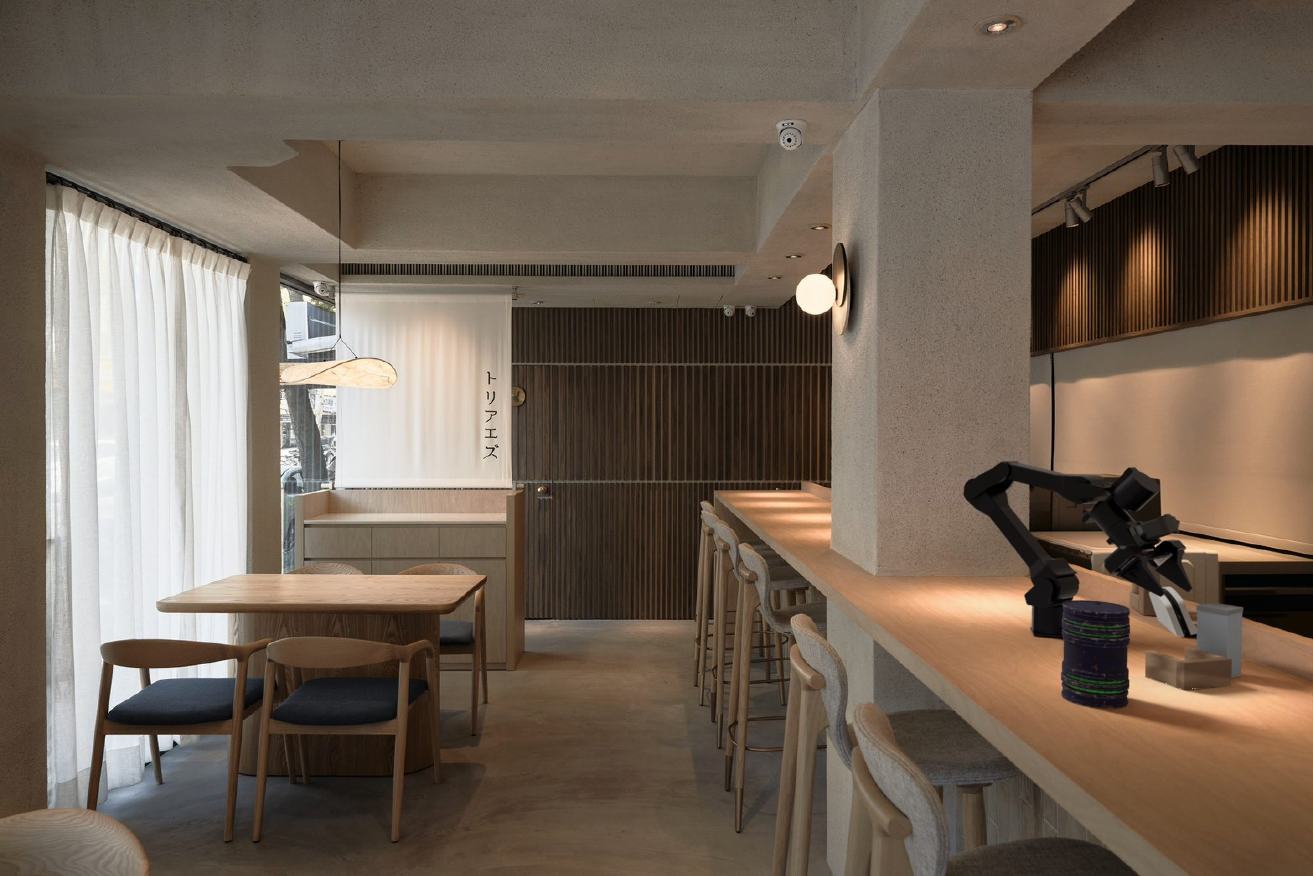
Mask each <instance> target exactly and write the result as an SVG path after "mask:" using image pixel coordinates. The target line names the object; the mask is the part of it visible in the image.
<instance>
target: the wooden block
mask: <svg viewBox="0 0 1313 876" xmlns="http://www.w3.org/2000/svg"><path fill="white" fill-rule="evenodd" d="M1147 566H1148V568H1149V570H1150V571H1151V573H1152V574H1153V575H1154V577H1155V578H1156V580H1157V581H1158V582H1159V584H1160V585H1161V574H1159V573H1158V572H1156V571H1155V569H1156V568H1155V567H1153V566H1151V565H1150V564H1149V563H1148V561H1147ZM1149 592H1150V591H1148V590H1146V589H1144V588H1142V587H1140V586H1138V585H1136V584H1134V583H1132V582H1131V591H1130V592H1129V607H1131V608H1132V609H1134V610H1135V611H1136V612H1138V613H1139V614H1141V615H1142V616H1145V617H1146V616H1149V617H1157V615H1156V613H1155V610H1154V607H1153V604H1152V601H1151V598H1150V596H1149Z"/></svg>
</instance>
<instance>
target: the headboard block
mask: <svg viewBox="0 0 1313 876" xmlns="http://www.w3.org/2000/svg"><path fill="white" fill-rule="evenodd" d="M1144 665H1145V666H1144V667H1145V668H1144V669H1145V671H1144V677H1146V678H1147V679H1148V678H1149V679H1150V678H1151V680H1153V679H1154V680H1153V681H1157V682H1159V683H1162V684H1165V683H1167V684H1169V685H1168V686H1170V685H1172V686H1171V687H1173V686H1174V687H1173V688H1177V689H1179V688H1181V689H1180V690H1182V689H1183V691H1187V690H1186V689H1191V690H1195V689H1194V688H1202V689H1209V688H1208V687H1213V688H1220V687H1221V688H1222V686H1223V687H1232V679H1233V678H1232V659H1229V658H1226V657H1222V656H1219V655H1216V654H1212V653H1209V652H1205V651H1202V650H1198V649H1197V648H1196V647H1195V648H1194V647H1185V648H1184V659H1182V658H1178V657H1174V656H1171V655H1168V654H1165V653H1161V652H1159V651H1155V650H1145V663H1144ZM1167 684H1166V685H1167ZM1229 685H1230V686H1229ZM1192 688H1193V689H1192Z"/></svg>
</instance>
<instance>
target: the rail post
mask: <svg viewBox="0 0 1313 876" xmlns="http://www.w3.org/2000/svg"><path fill="white" fill-rule="evenodd" d="M1195 609H1196V611H1197V612H1196V615H1197V616H1196V617H1197V618H1196V627H1197V634H1196V649H1198V650H1202V651H1205V652H1209V653H1212V654H1216V655H1219V656H1222V657H1226V658H1229V659H1232V678H1231V679H1233V678H1236V677H1240V676H1242V647H1243V646H1242V644H1243V643H1242V642H1243V638H1242V637H1243V635H1242V633H1243V612H1244V607H1243V606H1236V605H1230V604H1224V603H1219V602H1213V601H1212V602H1207V603H1206V602H1205V603H1201V604H1197V605H1196V608H1195Z"/></svg>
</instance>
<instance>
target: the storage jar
mask: <svg viewBox="0 0 1313 876" xmlns="http://www.w3.org/2000/svg"><path fill="white" fill-rule="evenodd" d="M1063 609H1064V611H1063V619H1062V627H1063V628H1062V637H1063V638H1062V639H1063V660H1062V661H1061V672H1060V680H1061V687H1062V690H1061V697H1062V698H1063V699H1064V700H1066V701H1068V702H1070V703H1072V704H1075V705H1079V706H1083V707H1088V708H1093V709H1103V710H1107V709H1108V710H1115V709H1116V710H1117V709H1123V708H1126V707H1127V706H1128V705H1129V698H1128V695H1129V689H1130V679H1129V674H1130V673H1129V671H1130V670H1129V668H1128V647H1129V645H1130V641H1131V639H1130V634H1131V624H1130V619H1131V618H1130V617H1129V616H1130V615H1131V612H1130V611H1131V609H1130V608H1129V607H1127V606H1125V605H1123V604H1117V603H1114V602H1108V601H1100V600H1089V599H1087V600H1085V599H1083V600H1081V599H1078V600H1077V599H1075V600H1074V599H1073V600H1072V601H1066V602H1064V603H1063Z"/></svg>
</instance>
